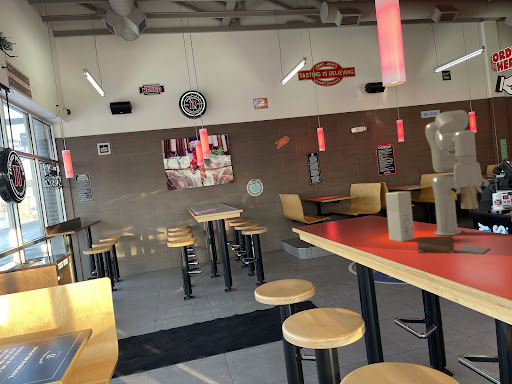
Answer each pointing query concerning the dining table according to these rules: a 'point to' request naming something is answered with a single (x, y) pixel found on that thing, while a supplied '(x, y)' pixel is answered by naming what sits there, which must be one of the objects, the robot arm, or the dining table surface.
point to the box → (469, 197)
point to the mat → (473, 250)
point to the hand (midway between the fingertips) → (469, 202)
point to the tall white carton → (399, 216)
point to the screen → (435, 244)
